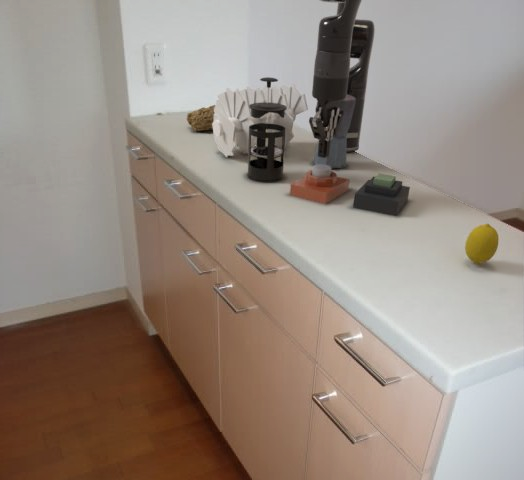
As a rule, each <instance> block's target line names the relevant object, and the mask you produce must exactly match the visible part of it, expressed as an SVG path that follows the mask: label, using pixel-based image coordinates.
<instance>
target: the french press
mask: <svg viewBox="0 0 524 480" xmlns="http://www.w3.org/2000/svg"><path fill="white" fill-rule="evenodd" d="M259 81H261V82H266V87H267V88H268V101H267V103H254V104H250V105H249V108H250V109H251V116H252V117H254V118H260V117H262V116H263V115H265V114H267V123H257V124H253V125H250V126H249V145H248V153H247V174H246V178H247V179H248V180H250V181H252V182H255V183H256V182H257V183H264V184H270V183H272V184H273V183H278V182H281V181H282V180H284V178H285V177H284V160H285V148H284V146H285V127H283V126H281V125H277V124H268V113H269V112H271V113H278V114H279V115H280V116H281V117H282V118H284V113H285V110H286V109H287V107H286V106H285V105H282V104H278V103H269V88H271V89H272V87H271V86H272V83H274V82H275V83H277V82H279V79H278V78H275V77H268V76H267V77H262V78H260V79H259ZM268 129H273V130H278V131H280V132H268ZM255 130H257V131H255ZM251 135H252V136H255V137H257V146H256V147H253V148H252V149H251ZM279 137H282V150H281V149H280V148H279V147H276V144H275V138H279ZM267 139H268V146H267ZM265 142H266V146H265ZM251 156H253V157H255V159H251ZM276 158H277V159H278V158H280V160H277V159H276Z"/></svg>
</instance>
